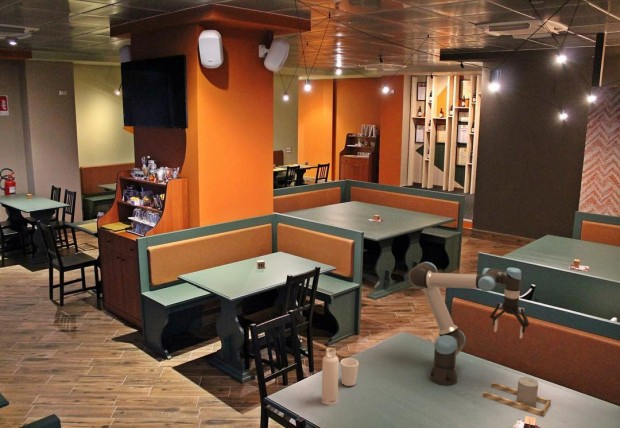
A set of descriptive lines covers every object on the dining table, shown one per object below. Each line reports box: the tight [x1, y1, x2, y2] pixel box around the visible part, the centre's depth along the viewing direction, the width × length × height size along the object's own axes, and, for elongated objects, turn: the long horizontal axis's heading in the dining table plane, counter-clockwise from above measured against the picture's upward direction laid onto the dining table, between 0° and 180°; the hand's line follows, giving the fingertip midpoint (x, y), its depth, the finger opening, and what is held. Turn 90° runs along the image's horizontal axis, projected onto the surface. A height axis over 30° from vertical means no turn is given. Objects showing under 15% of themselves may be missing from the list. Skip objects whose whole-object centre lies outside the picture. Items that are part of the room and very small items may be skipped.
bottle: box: [321, 347, 340, 406], centre depth 273 cm, size 8×8×28 cm
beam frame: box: [482, 381, 552, 418], centre depth 279 cm, size 30×14×3 cm, turn 53°
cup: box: [339, 357, 360, 388], centre depth 293 cm, size 10×10×13 cm
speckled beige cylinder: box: [515, 376, 539, 408], centre depth 276 cm, size 10×10×12 cm
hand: (508, 334), depth 292 cm, fingers open, 13 cm apart
